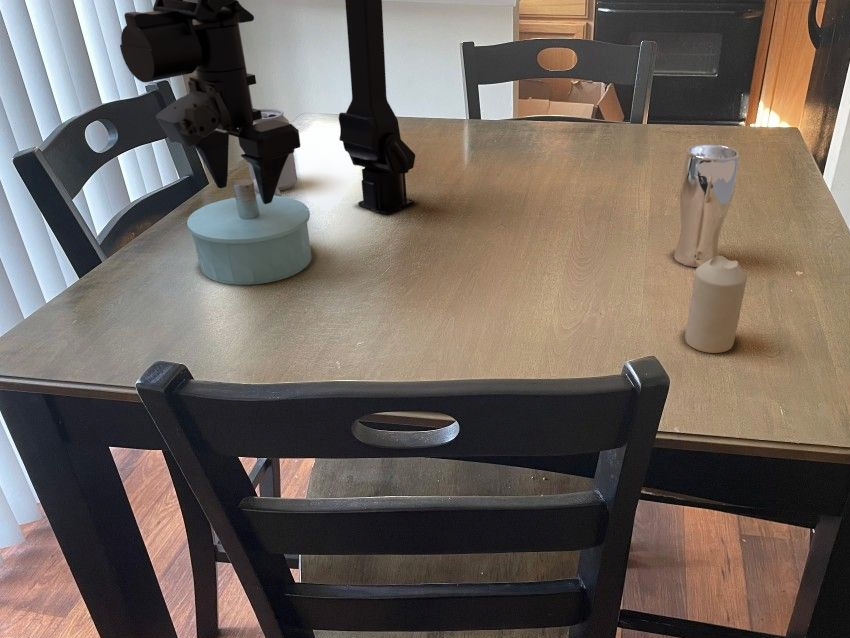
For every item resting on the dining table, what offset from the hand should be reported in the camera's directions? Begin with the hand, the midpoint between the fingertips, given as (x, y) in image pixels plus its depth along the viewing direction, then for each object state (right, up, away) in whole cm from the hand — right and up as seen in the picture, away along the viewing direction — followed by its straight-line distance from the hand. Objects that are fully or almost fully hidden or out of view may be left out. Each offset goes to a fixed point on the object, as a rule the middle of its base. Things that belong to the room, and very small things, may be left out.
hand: (244, 195), depth 99 cm
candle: (+57, -20, -11) cm, 61 cm away
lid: (0, -3, +2) cm, 3 cm away
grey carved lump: (-3, 0, +16) cm, 17 cm away
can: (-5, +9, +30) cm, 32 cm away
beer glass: (+60, -7, +8) cm, 61 cm away
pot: (0, -8, +5) cm, 9 cm away
